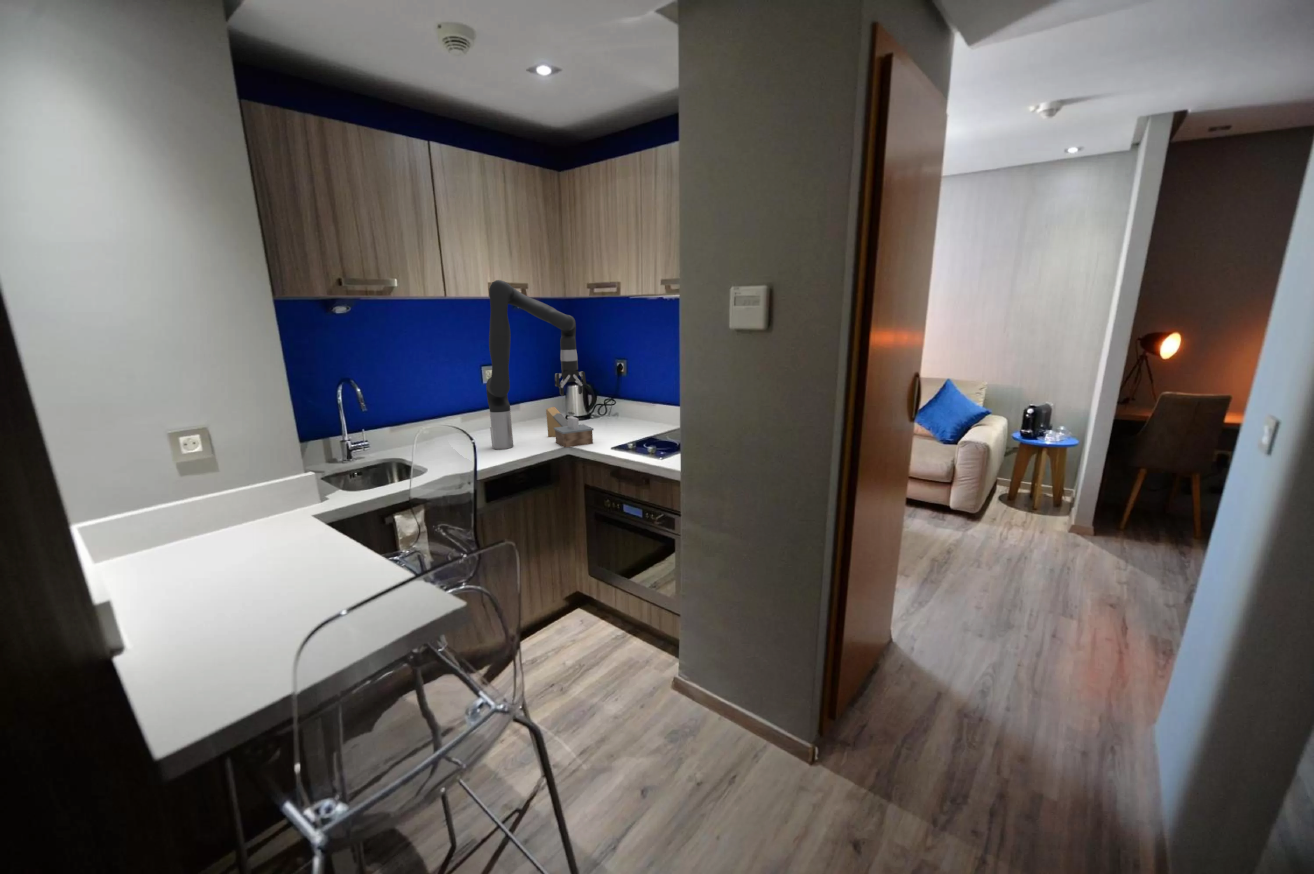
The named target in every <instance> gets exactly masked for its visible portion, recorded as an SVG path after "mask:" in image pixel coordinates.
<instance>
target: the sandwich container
mask: <svg viewBox="0 0 1314 874" xmlns="http://www.w3.org/2000/svg"><path fill="white" fill-rule="evenodd" d="M545 412H546V413H545V414H546V415H545V416H546V426H547V438H556V435H555V430H554V428H556V427H564V426H568V419H567V418H566V417H565V416H564V415H563V414H562V413H561V412H560V411H559V410H558V409H557V408H556V407H555V406H551V407H548V408H546V409H545Z"/></svg>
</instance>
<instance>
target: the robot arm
mask: <svg viewBox="0 0 1314 874" xmlns="http://www.w3.org/2000/svg"><path fill="white" fill-rule="evenodd" d="M488 293H489V303H490V304H489V305H490V307H489V308H490V317H489V333H488V348H489V355H490V361H491V375H490V377H489V378H488V379H487V380H486V384H485V385H486V386H485V388H486V389H485V390H486V398H487V405H488V407H489V419H490V427H489V428H490V438H491V439H490V440H491V447H492V449H493V450H505V449H510V448H513V447H514V436H513V427H512V425H513V424H512V414H511V405H510V402H509V397H508V393H509V391H510V388H511V385H510V384H511V382H510V369H509V367H510V366H509V364H510V355H511V354H510V353H511V338H512V337H511V336H512V335H511V328H510V327H511V326H510V321H509V316H508V309H509V308H508V307H509V305H510V306H514V307H517V308H519V309H521V310H523V311H525V312H527V313H528V314H531V315H532V316H534V317H536V318H538V319H540V320H542V321H544V322H546V323H548V324H551V325H552V326H553V327H555V328H557V329H559V330H560V331H561V332H560V336H561V337H560V343H559V345H560V364H561V365H560V366H561V372H560V373H558V372H557V373H554V386H555V387H558V389H559V395H561V396H562V397H564V396H565V390H564V389H565V388H564V386H565V385H566V384H567V383H571V382H572V383H573V382H575V383H576V384H577V385H578V386H577V388H578V389H577V390H578V391H577V392H578V394H579V395H582V393H583V386H584V385H587V379H586V372H585V371H582V370H581V371H579V363H578V361H579V359H578V353H577V340H576V332H577V325H576V324H577V323H576V320H575V318H574V316H573V315H570V314H565V313H563V312H561V311H559V310H557V309H556V308H554V307H553V306H550V305H548V304H547V303H544V302H542V301H540V300H538V299H535V298H533V297H530V296H527V295H526V294H524V293H523V292H520V291H519V290H517V289H516V288H514V287H513V286H511V284H510V283H509V282H506V281H505V280H502V279H496V280H494V281H493V282H492V283H491V284H490V285H489V290H488ZM579 376H580V378H581V380H580V379H579ZM561 378H562V379H561ZM560 379H561V381H560Z"/></svg>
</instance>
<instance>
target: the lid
mask: <svg viewBox="0 0 1314 874" xmlns="http://www.w3.org/2000/svg"><path fill="white" fill-rule="evenodd" d="M566 419H567V421H568V426H564V427H556V428H554V430H556V431H558V432H560V433H562V434H568V433H576V432H583V431H591V430H592V431H594V428H593V427H591V426H589V425H586V424H584V423H581V424H579V418H577V417H576V416H573V415H571V416H567V418H566Z"/></svg>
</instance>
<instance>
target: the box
mask: <svg viewBox="0 0 1314 874" xmlns="http://www.w3.org/2000/svg"><path fill="white" fill-rule="evenodd" d="M555 435H556V437H555V444H558V445H559V446H561V447H563V448H570V447H578V446H586V445H592V444H594V441H593V440H594V438H593V430H591V431H583V432H576V433H568V434H562V433H560V432H558V431H556V430H555Z"/></svg>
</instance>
